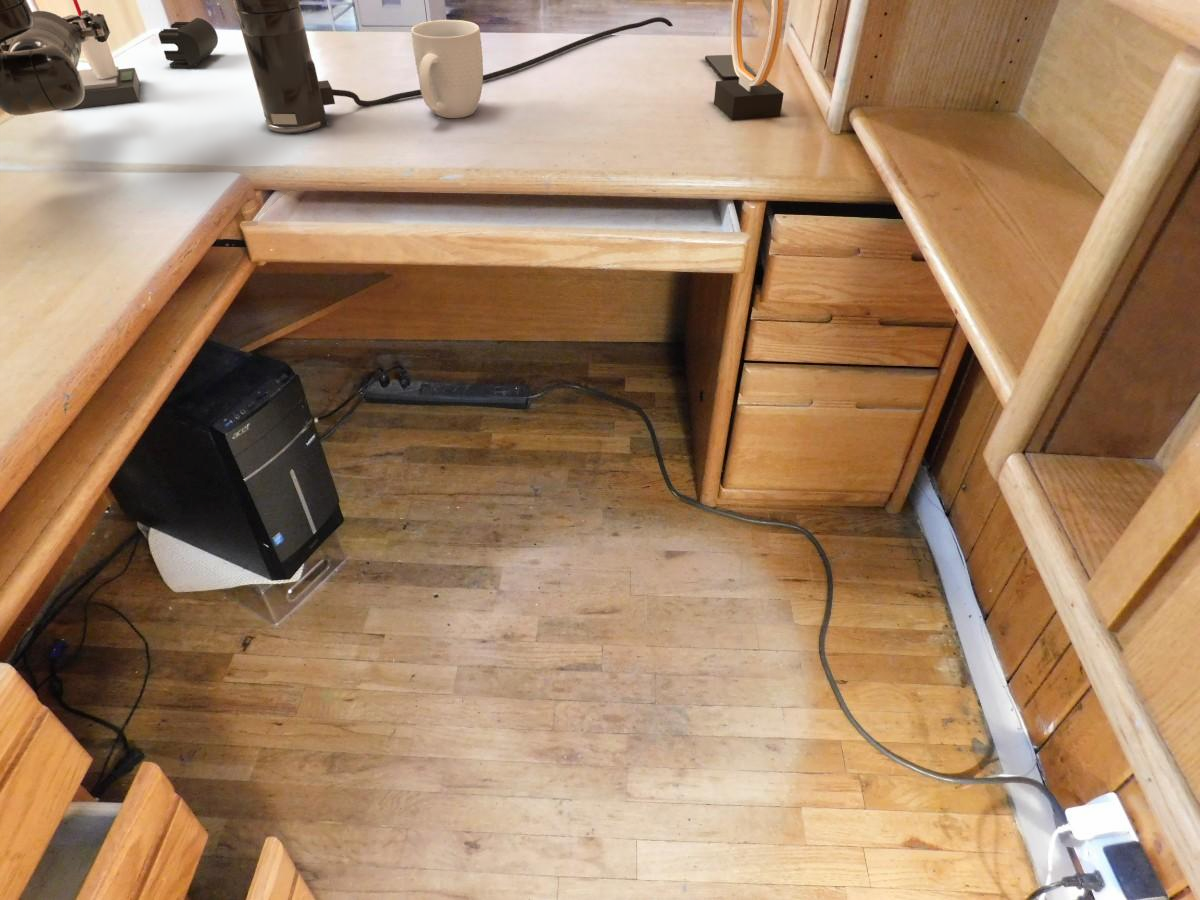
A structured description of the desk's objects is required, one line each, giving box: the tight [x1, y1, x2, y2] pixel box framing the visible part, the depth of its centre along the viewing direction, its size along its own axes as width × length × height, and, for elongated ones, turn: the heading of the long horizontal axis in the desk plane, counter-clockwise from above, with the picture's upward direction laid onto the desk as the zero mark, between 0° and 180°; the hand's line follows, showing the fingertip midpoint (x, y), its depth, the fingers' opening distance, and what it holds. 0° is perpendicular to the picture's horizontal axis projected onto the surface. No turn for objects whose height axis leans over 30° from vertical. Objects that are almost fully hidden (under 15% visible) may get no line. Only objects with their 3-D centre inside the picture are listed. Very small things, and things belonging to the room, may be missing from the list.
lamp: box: [713, 0, 785, 121], centre depth 124 cm, size 17×9×32 cm, turn 14°
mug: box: [410, 19, 484, 119], centre depth 127 cm, size 15×11×13 cm
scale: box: [62, 66, 141, 111], centre depth 136 cm, size 12×12×3 cm
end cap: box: [158, 17, 219, 69], centre depth 151 cm, size 10×7×7 cm
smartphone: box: [704, 54, 757, 81], centre depth 151 cm, size 7×1×15 cm
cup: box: [69, 0, 118, 79], centre depth 131 cm, size 5×5×12 cm
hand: (57, 20), depth 119 cm, fingers open, 8 cm apart
